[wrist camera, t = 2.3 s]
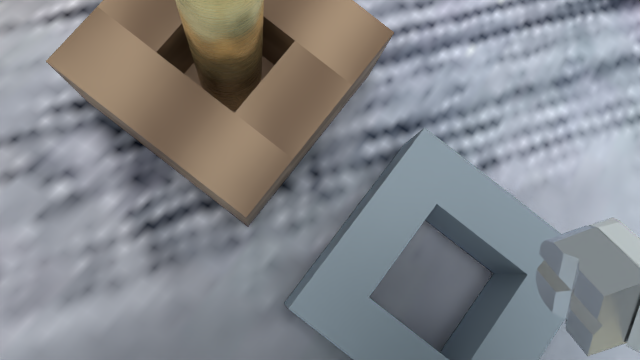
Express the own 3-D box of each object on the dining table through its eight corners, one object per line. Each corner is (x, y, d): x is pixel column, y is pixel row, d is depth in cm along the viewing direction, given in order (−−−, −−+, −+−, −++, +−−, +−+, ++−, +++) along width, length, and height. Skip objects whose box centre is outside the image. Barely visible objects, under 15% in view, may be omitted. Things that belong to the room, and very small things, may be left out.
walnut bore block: (86, 100, 30) (45, 61, 24) (217, -44, 32) (208, -112, 27) (248, 226, 30) (246, 217, 24) (368, 74, 32) (393, 32, 26)
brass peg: (188, 85, 30) (114, -111, 14) (226, 41, 31) (195, -193, 15) (236, 122, 30) (214, -33, 14) (273, 78, 31) (291, -119, 15)
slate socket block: (284, 303, 30) (288, 308, 26) (404, 144, 32) (424, 127, 28) (448, 431, 30) (476, 456, 26) (557, 264, 32) (599, 264, 28)
